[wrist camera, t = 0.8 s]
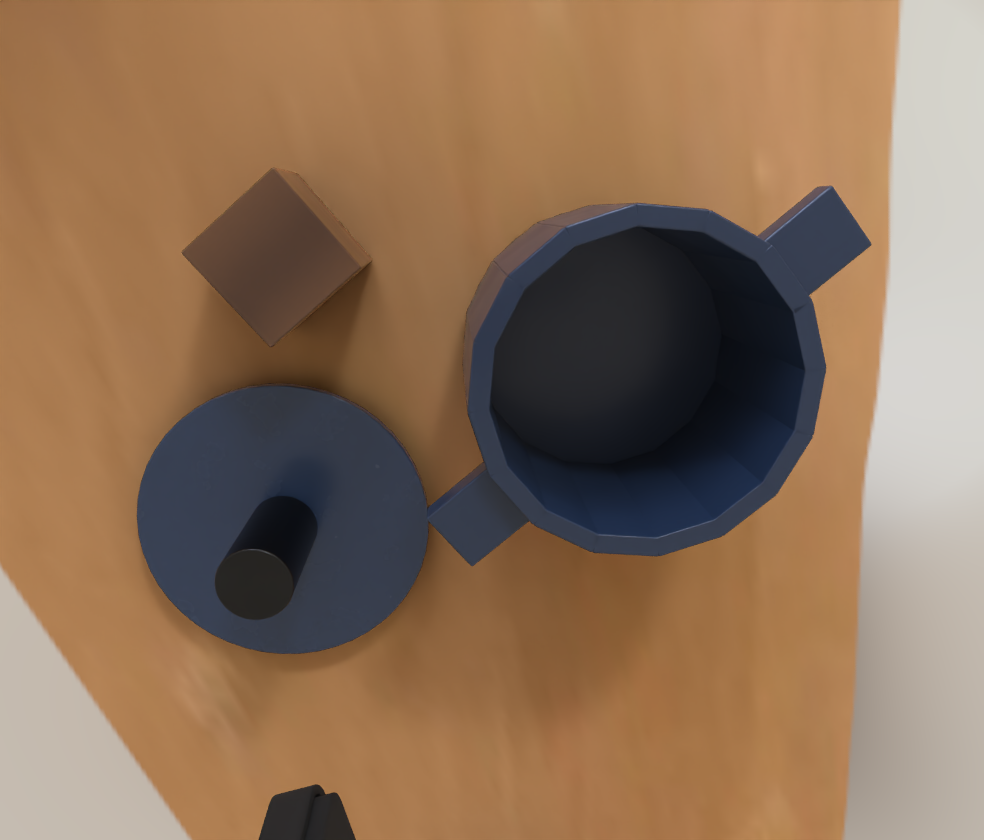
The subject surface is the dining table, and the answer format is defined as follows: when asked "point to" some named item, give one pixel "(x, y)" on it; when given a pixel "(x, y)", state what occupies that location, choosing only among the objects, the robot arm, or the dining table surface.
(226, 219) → the block
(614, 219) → the pot
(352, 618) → the pot lid
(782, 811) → the dining table surface
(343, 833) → the robot arm
